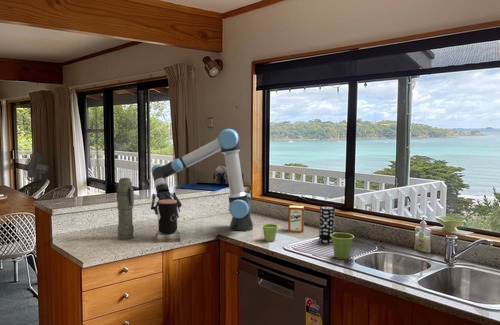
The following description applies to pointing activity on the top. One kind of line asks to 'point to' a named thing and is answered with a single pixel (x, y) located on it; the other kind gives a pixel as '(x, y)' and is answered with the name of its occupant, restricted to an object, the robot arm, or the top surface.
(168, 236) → the plinth
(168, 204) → the coffee jar
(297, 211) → the baking soda box
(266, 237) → the plant pot
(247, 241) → the top surface
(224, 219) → the top surface
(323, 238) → the spotted tube
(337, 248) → the plant pot
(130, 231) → the thermos
